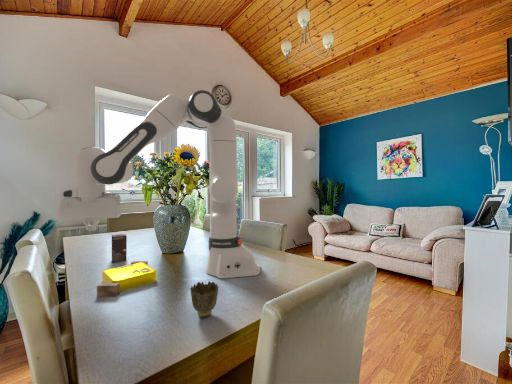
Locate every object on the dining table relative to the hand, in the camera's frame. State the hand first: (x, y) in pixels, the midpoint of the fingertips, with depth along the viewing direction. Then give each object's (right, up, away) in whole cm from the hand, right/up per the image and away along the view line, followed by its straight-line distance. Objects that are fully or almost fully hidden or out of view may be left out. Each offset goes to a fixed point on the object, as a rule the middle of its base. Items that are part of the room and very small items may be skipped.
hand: (91, 230), depth 89 cm
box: (-4, -19, +25) cm, 32 cm away
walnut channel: (+13, -19, +1) cm, 23 cm away
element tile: (+13, -20, +1) cm, 24 cm away
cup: (+46, -20, -22) cm, 55 cm away
